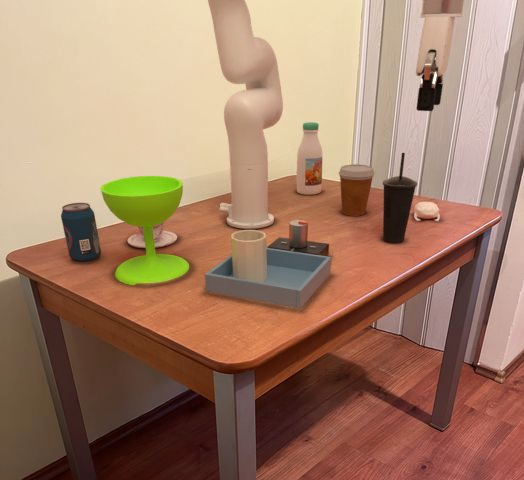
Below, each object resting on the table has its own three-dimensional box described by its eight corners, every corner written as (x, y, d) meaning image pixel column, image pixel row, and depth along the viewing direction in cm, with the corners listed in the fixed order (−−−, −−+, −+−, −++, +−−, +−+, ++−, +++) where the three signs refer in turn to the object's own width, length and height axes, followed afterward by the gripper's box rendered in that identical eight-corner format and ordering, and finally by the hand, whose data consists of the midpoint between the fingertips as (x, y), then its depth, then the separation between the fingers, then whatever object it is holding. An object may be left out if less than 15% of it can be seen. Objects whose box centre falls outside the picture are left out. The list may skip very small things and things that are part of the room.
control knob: (286, 246, 118) (286, 223, 115) (293, 240, 121) (293, 217, 118) (303, 249, 116) (304, 225, 113) (309, 243, 119) (310, 219, 117)
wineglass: (125, 257, 122) (112, 176, 113) (195, 256, 122) (188, 175, 112) (105, 286, 108) (89, 196, 99) (184, 286, 108) (175, 196, 99)
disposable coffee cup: (376, 210, 150) (380, 166, 143) (362, 219, 143) (366, 173, 137) (345, 206, 154) (348, 162, 148) (330, 214, 147) (332, 169, 141)
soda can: (68, 256, 123) (57, 204, 117) (99, 251, 125) (90, 200, 119) (72, 266, 118) (60, 212, 111) (104, 261, 120) (94, 208, 114)
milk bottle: (295, 194, 165) (296, 125, 155) (297, 188, 172) (299, 121, 161) (320, 195, 164) (323, 125, 154) (322, 189, 170) (324, 121, 160)
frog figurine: (441, 222, 140) (443, 207, 138) (414, 221, 141) (416, 207, 139) (436, 213, 147) (438, 199, 145) (411, 212, 148) (412, 198, 146)
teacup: (117, 241, 131) (113, 216, 128) (157, 229, 139) (154, 205, 135) (147, 253, 124) (144, 227, 121) (187, 239, 132) (185, 214, 128)
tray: (205, 293, 105) (204, 274, 103) (245, 262, 118) (244, 244, 116) (300, 311, 98) (300, 290, 95) (330, 275, 111) (331, 256, 109)
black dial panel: (265, 260, 119) (265, 247, 117) (280, 248, 125) (280, 235, 124) (317, 268, 115) (317, 254, 113) (329, 255, 121) (330, 242, 119)
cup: (227, 282, 108) (224, 238, 103) (242, 269, 113) (240, 228, 108) (258, 287, 105) (257, 243, 101) (271, 274, 111) (271, 232, 106)
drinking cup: (410, 246, 125) (422, 157, 115) (376, 244, 127) (385, 156, 116) (409, 235, 132) (420, 150, 121) (377, 234, 133) (385, 149, 123)
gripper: (428, 9, 109) (416, 102, 118) (413, 7, 95) (401, 112, 104) (467, 8, 106) (452, 103, 115) (457, 6, 93) (441, 114, 102)
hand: (428, 107), depth 110 cm, fingers open, 9 cm apart
